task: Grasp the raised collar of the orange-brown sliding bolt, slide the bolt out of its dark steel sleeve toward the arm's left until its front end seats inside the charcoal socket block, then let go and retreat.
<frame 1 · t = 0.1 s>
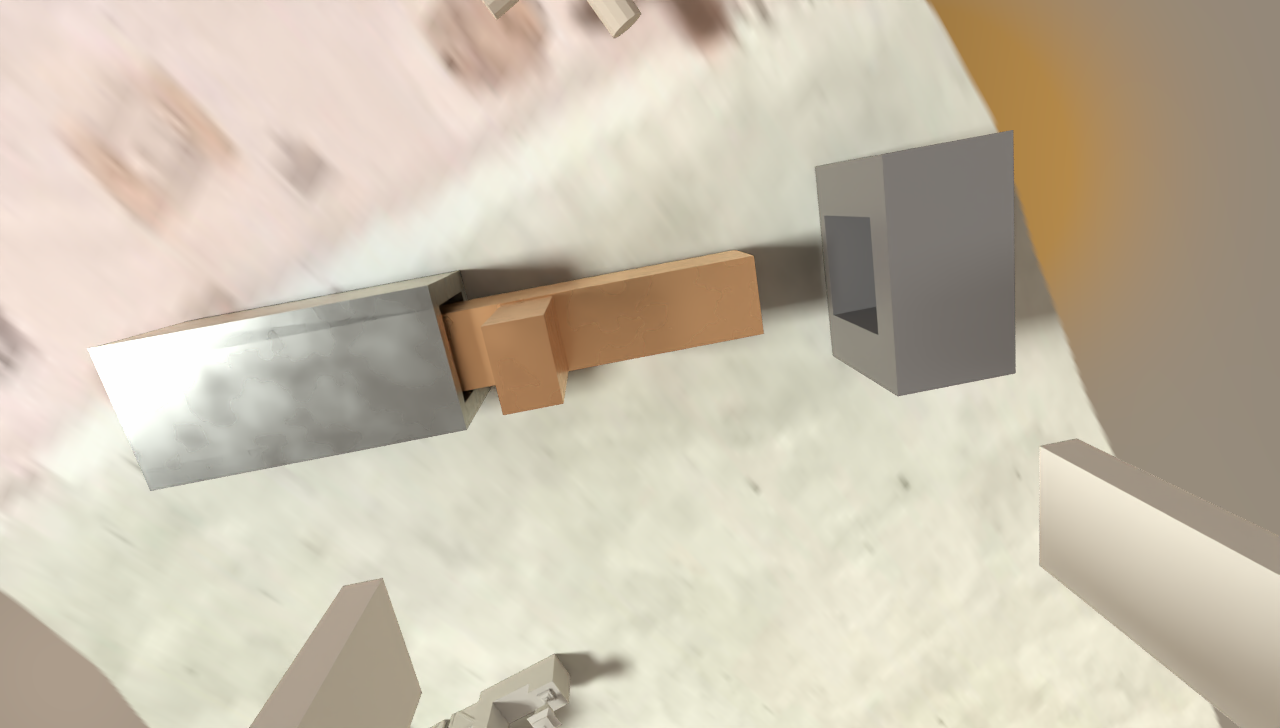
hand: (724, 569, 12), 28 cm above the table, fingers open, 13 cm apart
sleeve: (344, 355, 38), on the table
orange-brown sliding bolt: (488, 349, 32), point 7 cm above the table, slide at 0.0 cm
socket block: (872, 255, 39), on the table
gateway: (449, 707, 46), on the table
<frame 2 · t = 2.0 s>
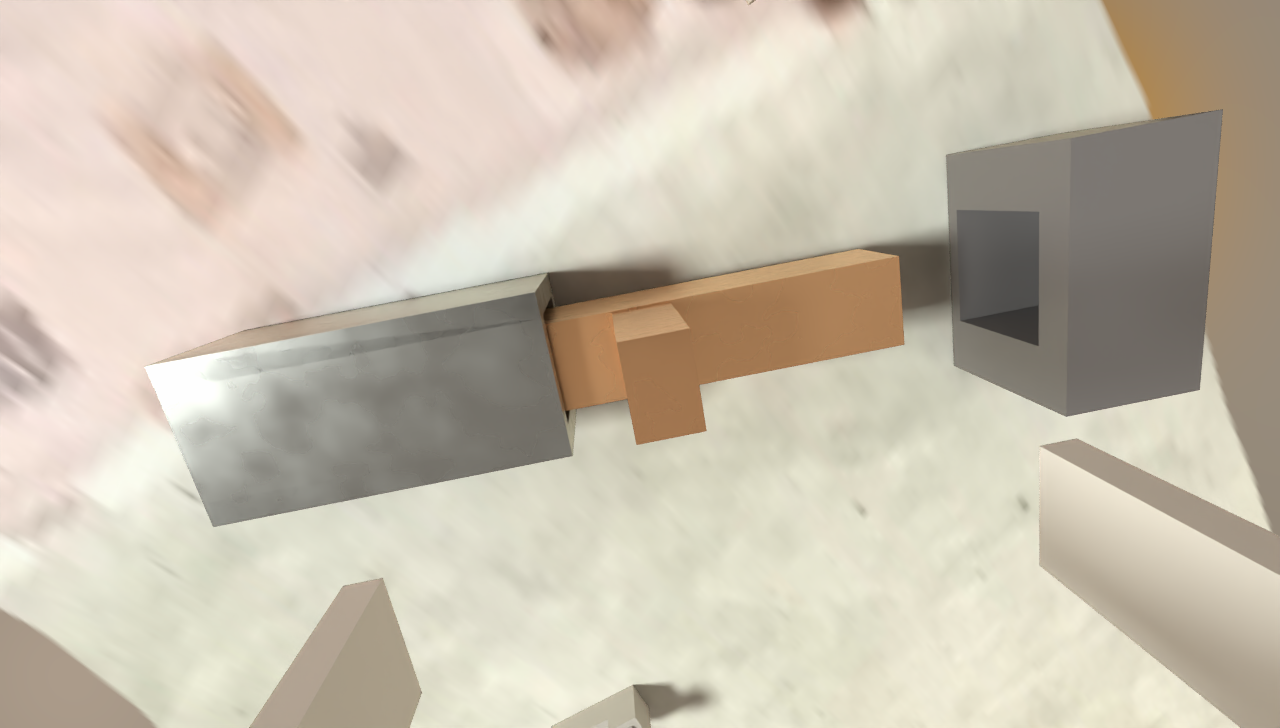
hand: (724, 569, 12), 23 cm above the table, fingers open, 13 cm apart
sleeve: (416, 368, 34), on the table
orange-brown sliding bolt: (597, 364, 28), point 7 cm above the table, slide at 0.0 cm
socket block: (1004, 254, 35), on the table
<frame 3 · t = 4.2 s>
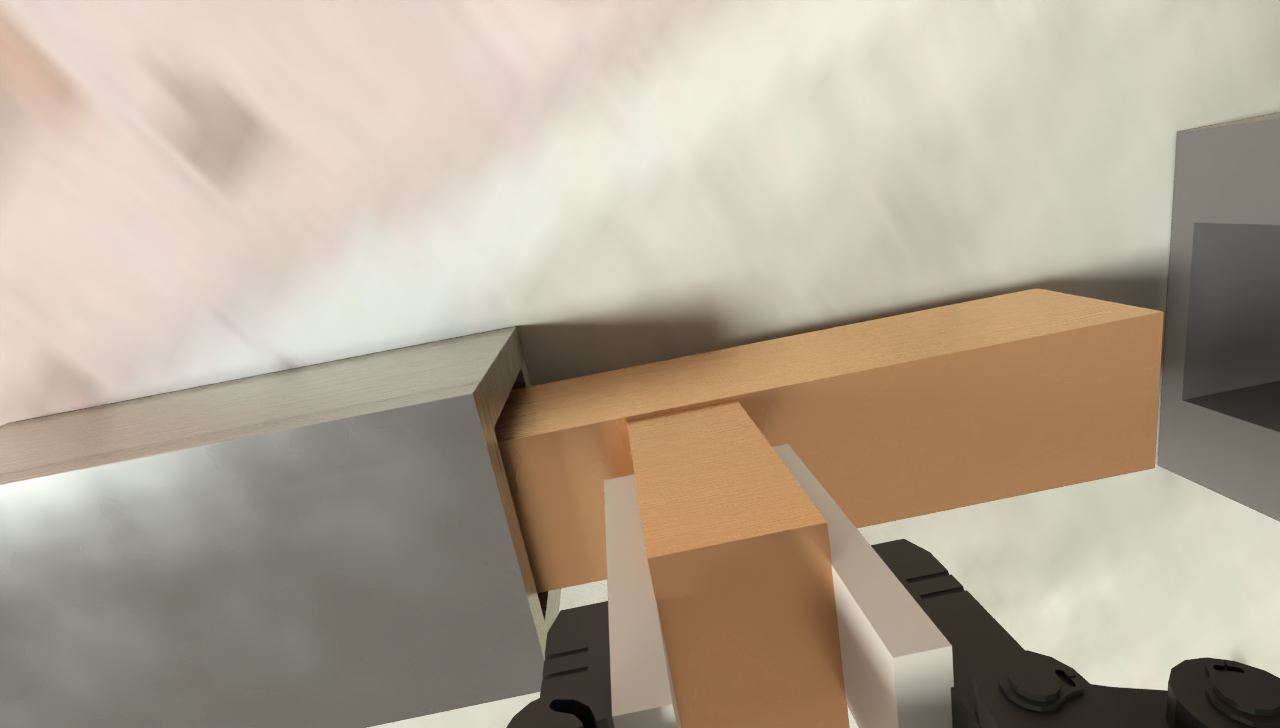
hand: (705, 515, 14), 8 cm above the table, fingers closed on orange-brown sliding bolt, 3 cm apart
sleeve: (303, 480, 21), on the table
orange-brown sliding bolt: (599, 519, 15), point 7 cm above the table, slide at 0.0 cm, touching gripper
socket block: (1252, 294, 22), on the table
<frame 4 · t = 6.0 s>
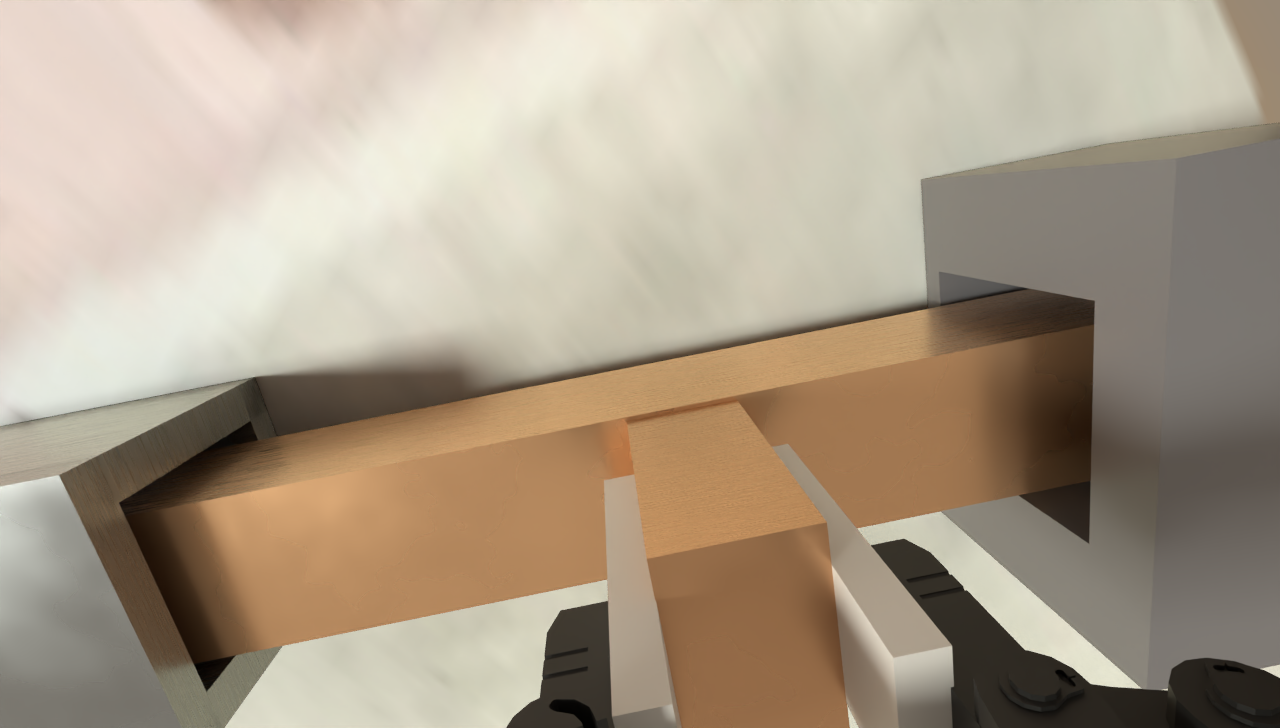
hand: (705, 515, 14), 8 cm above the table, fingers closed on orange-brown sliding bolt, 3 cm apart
sleeve: (50, 531, 21), on the table
orange-brown sliding bolt: (599, 519, 15), point 7 cm above the table, slide at 8.9 cm, touching gripper
socket block: (1017, 339, 21), on the table
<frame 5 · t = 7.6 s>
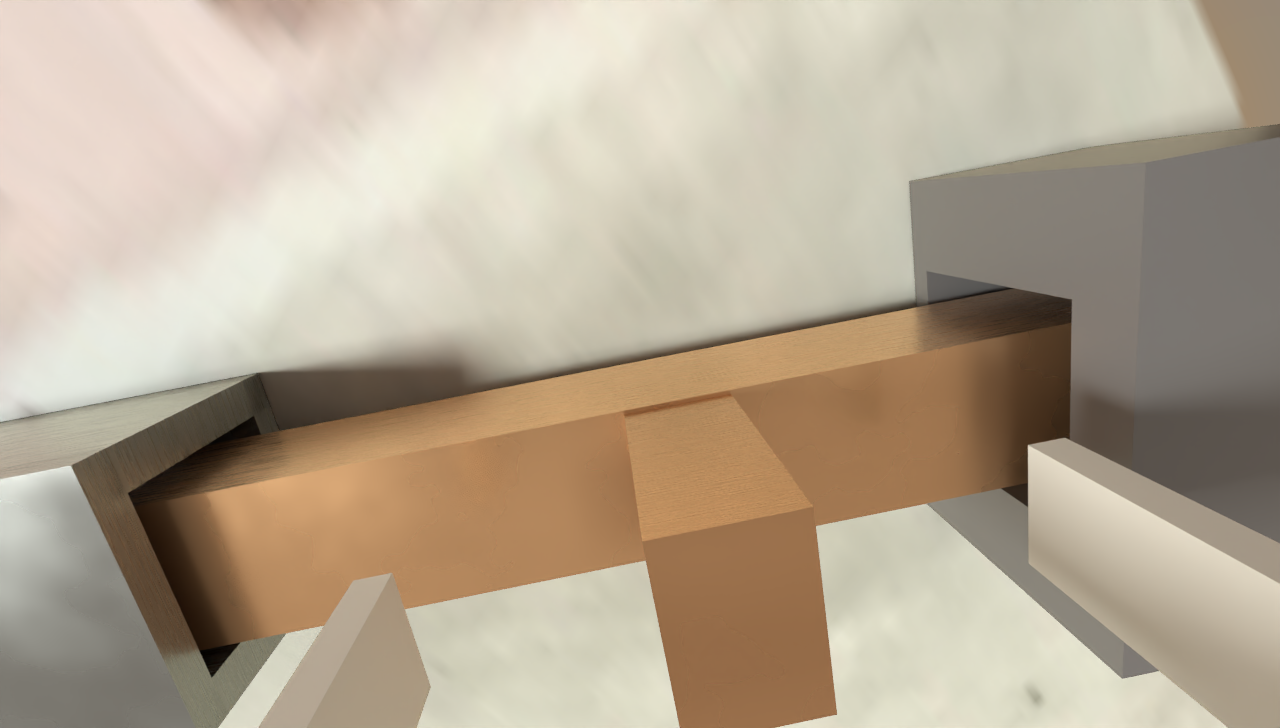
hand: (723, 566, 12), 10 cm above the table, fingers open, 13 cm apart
sleeve: (57, 523, 21), on the table
orange-brown sliding bolt: (598, 509, 15), point 7 cm above the table, slide at 9.0 cm
socket block: (1004, 338, 22), on the table
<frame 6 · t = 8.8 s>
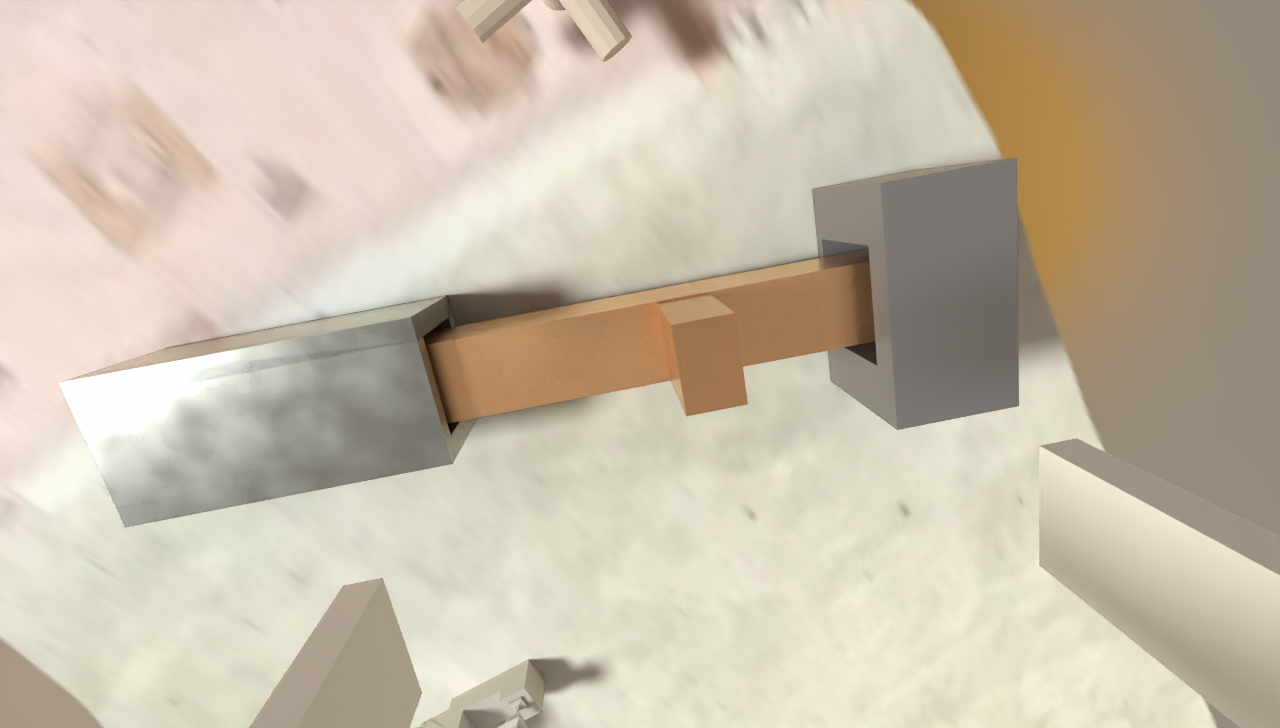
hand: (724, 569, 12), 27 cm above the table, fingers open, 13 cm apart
sleeve: (328, 382, 37), on the table
orange-brown sliding bolt: (644, 348, 31), point 7 cm above the table, slide at 9.0 cm
socket block: (871, 279, 38), on the table
gateway: (419, 714, 45), on the table
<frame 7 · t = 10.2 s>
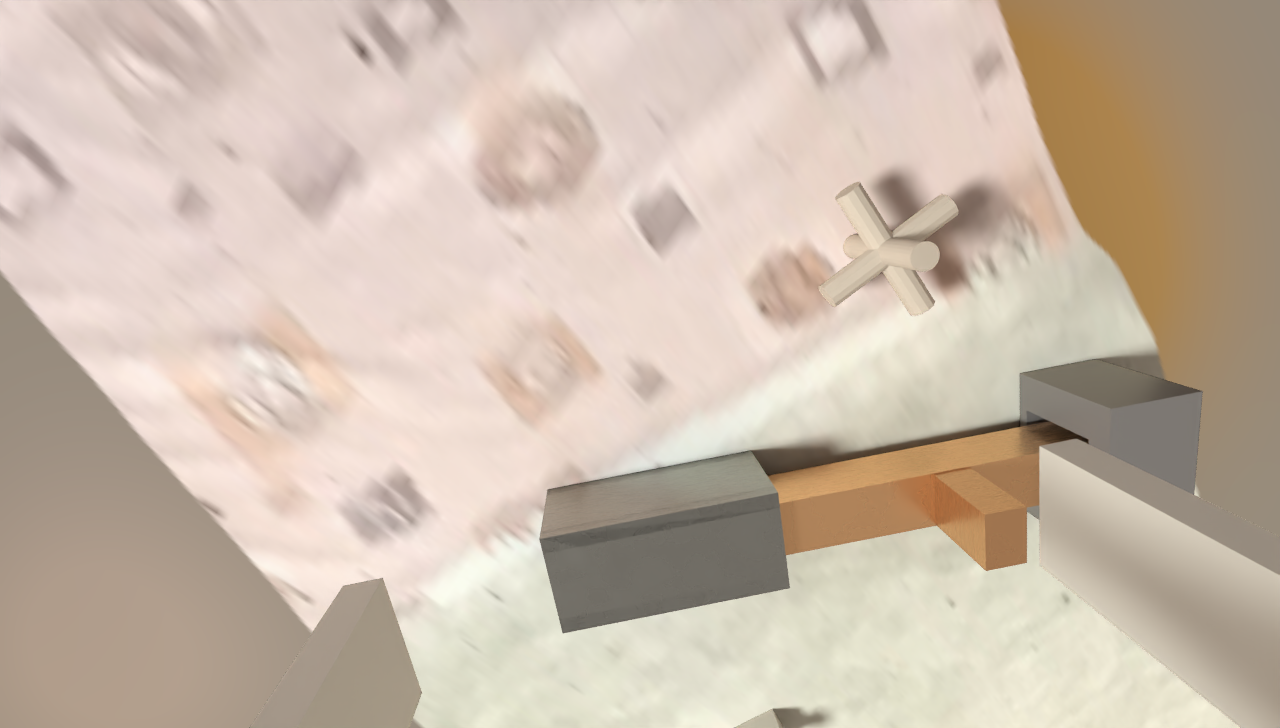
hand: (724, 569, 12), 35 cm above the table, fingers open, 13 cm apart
sleeve: (657, 512, 50), on the table
orange-brown sliding bolt: (925, 507, 44), point 7 cm above the table, slide at 9.0 cm
socket block: (1056, 435, 51), on the table
cream cross joint: (853, 246, 46), on the table
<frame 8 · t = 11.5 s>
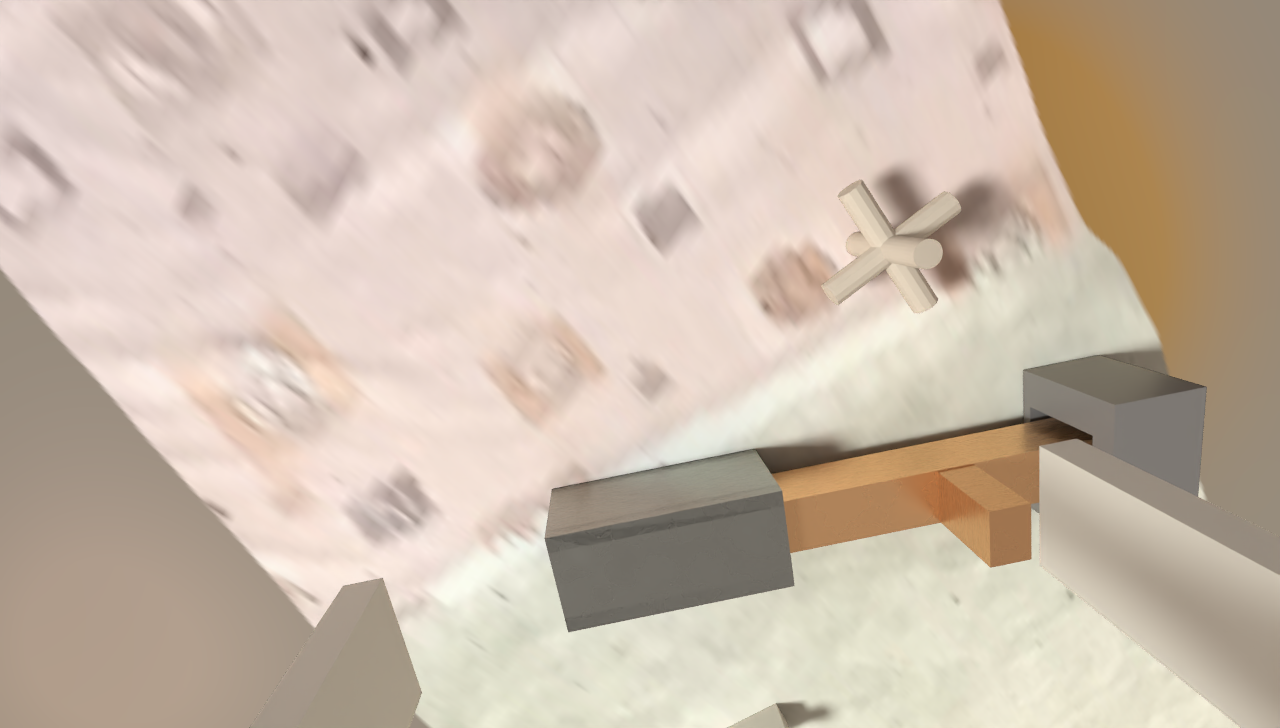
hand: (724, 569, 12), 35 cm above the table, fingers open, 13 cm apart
sleeve: (661, 511, 50), on the table
orange-brown sliding bolt: (930, 504, 44), point 7 cm above the table, slide at 9.0 cm
socket block: (1060, 431, 51), on the table
cream cross joint: (856, 243, 46), on the table
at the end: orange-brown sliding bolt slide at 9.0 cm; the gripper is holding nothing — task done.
